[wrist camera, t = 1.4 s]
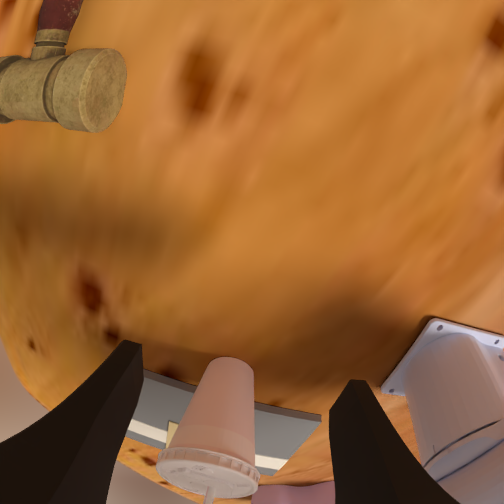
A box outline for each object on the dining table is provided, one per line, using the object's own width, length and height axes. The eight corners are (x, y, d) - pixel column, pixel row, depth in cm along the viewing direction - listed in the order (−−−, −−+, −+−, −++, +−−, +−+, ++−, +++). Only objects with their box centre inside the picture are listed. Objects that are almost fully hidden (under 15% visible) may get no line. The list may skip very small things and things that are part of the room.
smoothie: (225, 404, 26) (193, 550, 14) (174, 361, 24) (113, 519, 12) (287, 382, 24) (273, 553, 11) (236, 331, 22) (188, 529, 9)
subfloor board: (321, 415, 25) (321, 423, 25) (272, 470, 32) (272, 477, 31) (123, 361, 25) (119, 368, 24) (127, 431, 31) (125, 437, 31)
